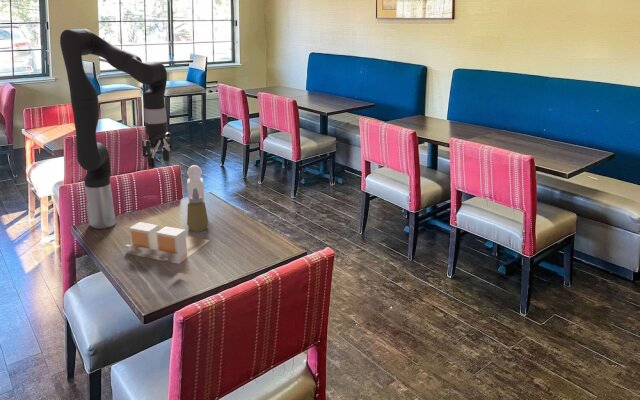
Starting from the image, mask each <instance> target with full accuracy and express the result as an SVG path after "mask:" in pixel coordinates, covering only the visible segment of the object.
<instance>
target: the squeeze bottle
mask: <svg viewBox="0 0 640 400" xmlns="http://www.w3.org/2000/svg"><path fill="white" fill-rule="evenodd" d="M186 213H187V217H186V218H187V219H186V225H187V227H188V229H189V230H190V231H191V232H203V231H206V230H207V228H208V225H209V220H208V213H207V208H206V203H205V201H204V202H203V201H202V196H199V194H198V191H197V188H194V189H193V195H192V196H191V197H190V202H189V201H188V203H187V212H186Z"/></svg>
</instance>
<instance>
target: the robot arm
mask: <svg viewBox="0 0 640 400" xmlns="http://www.w3.org/2000/svg"><path fill="white" fill-rule="evenodd" d="M59 43H60V49H61V54H62V58H63V62H64V66H65V71H66V74H67V81H68V86H69V93H70V94H69V95H70V102H71V103H70V104H71V108H72V115H73V121H74V129H75V137H76V138H75V139H76V159H77V162H78V165H79V166H80V167H81V168H82V169H83V170H86V174H85V177H84V178H83V179H84V181H83V182H84V187H85V194H86V199H87V202H86V203H85V208H86V213H87V220H88V225H89V226H90V227H92V228H93V229H99V230H100V229H101V230H102V229H108V228H111V227H113V226H114V225H115V224H117V223H116V215H115V208H114V200H113V193H112V186H111V175H112V173H111V172H112V171H111V160H110V154H109V153H110V152H109V150H108V149H107V147H106V145H104V144H103V143H101V142H97V127H98V122H99V116H100V104H99V96H98V95H99V94H98V91H97V89H96V87H95V86H94V84H93V83H92V81H91V80H90V78H89V77H88V75H87V73H86V71H85V69H84V63H83V58H82V56H87V55H93V56H97V57H100V58H103V59H104V60H105V61H106V62H107V63H108V64H109V66H112V68H114V69H116V70H118V71H120V72H123V73H125V74H127V75H129V76H130V77H132V78H133V79H134V80H136V81H137V82H139V83H140V84H142V85H143V84H144V85H149V86H148V89H147V90H145V91H144V92H143V94H142V95H143V96H142V97H143V98H142V99H143V107H144V108H143V110H144V111H143V116H144V117H143V118H144V128H145V129H144V130H145V134H146V135H147V137H148V138H147V139H142V140H141V142H142V143H141V146H142V148H141V149H142V157H143V158H144V157H145V158H146V159H147V165H148V167H149V169H150V168H151V169H154V168H155V167H156V164H155V163H156V162H155V161H156V160H155V155H156V153H157V152H158V150H159V149H160V148H161V150H162V160H163V161H164V162H169V161H170V151H171V149H173V146H174V145H173V137H172V135H173V134H172V133H171V132H168V119H167V109H166V102H165V92H166V88H167V81H168V73H167V72H168V71H167V69H166V66H165V65H164V64H163V63H162V62H160V61H151V62H143V60H142V58H141V57H139V56H138V55H137V54H134V53H131V52H129V51H127V50H125V49H122V48H119V47H118V46H116V45H114V44H112V43H110V42H109V41H107V40H105V39H103V38H102V37H101V36H99V35H98V34H96V33H94V32H92V31H91V30H89V29H87V28H67V29H65V30H63V31H62V32H61V34H60V37H59Z"/></svg>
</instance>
